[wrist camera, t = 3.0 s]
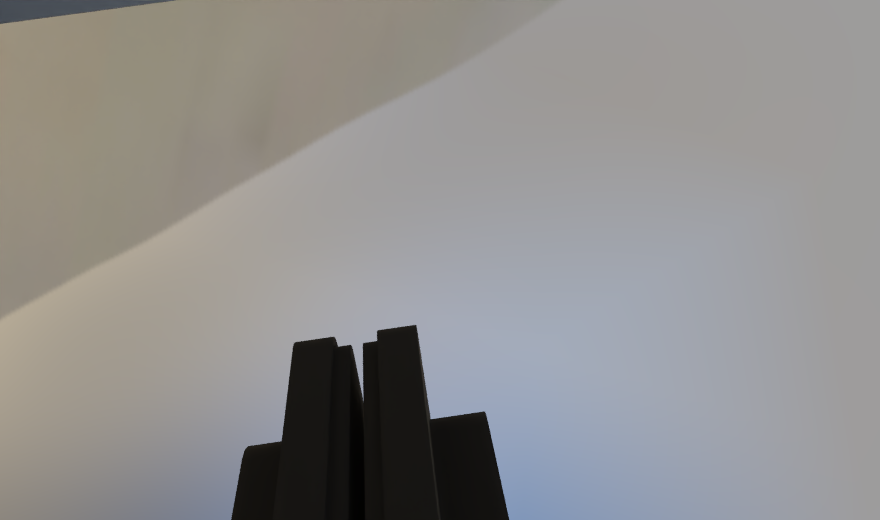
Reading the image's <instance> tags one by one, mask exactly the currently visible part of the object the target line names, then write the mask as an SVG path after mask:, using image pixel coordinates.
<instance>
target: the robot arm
mask: <svg viewBox="0 0 880 520" xmlns="http://www.w3.org/2000/svg"><path fill="white" fill-rule="evenodd" d="M363 389H364V390H363V391H364V402H363V397H362V393H361V388H360V382H359V377H358V373H357V368H356V362H355V358H354V353H353V349H352V346H351V345H347V346H340V347H338V345H337V342H336V339H335V337H329V338H322V339H315V340H308V341H301V342H295V343H294V346H293V352H292V360H291V369H290V377H289V385H288V394H287V402H286V410H285V419H284V427H283V435H282V441H281V442H274V443H267V444H261V445H254V446H248V447H247V448H246V449H245V451H244V455H243V458H242V464H241V469H240V474H239V480H238V485H237V491H236V496H235V502H234V508H233V513H232V519H231V520H509V517H508V512H507V508H506V503H505V498H504V494H503V489H502V485H501V480H500V476H499V471H498V466H497V462H496V457H495V452H494V448H493V443H492V439H491V434H490V429H489V425H488V421H487V417H486V413H485V412H479V413H471V414H464V415H458V416H451V417H444V418H437V419H430V412H429V405H428V399H427V392H426V386H425V379H424V372H423V366H422V359H421V353H420V346H419V339H418V333H417V327H416V325H412V326H405V327H398V328H391V329H384V330H378V331H377V341H375V342H369V343H363Z"/></svg>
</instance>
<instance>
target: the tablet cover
mask: <svg viewBox="0 0 880 520" xmlns="http://www.w3.org/2000/svg"><path fill="white" fill-rule="evenodd" d="M167 1H174V0H0V24H3V23H10V22H18V21H25V20H33V19H40V18H48V17H55V16H62V15H70V14H77V13H85V12H92V11H100V10H107V9H115V8H122V7H130V6H137V5H144V4H152V3H159V2H167Z"/></svg>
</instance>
